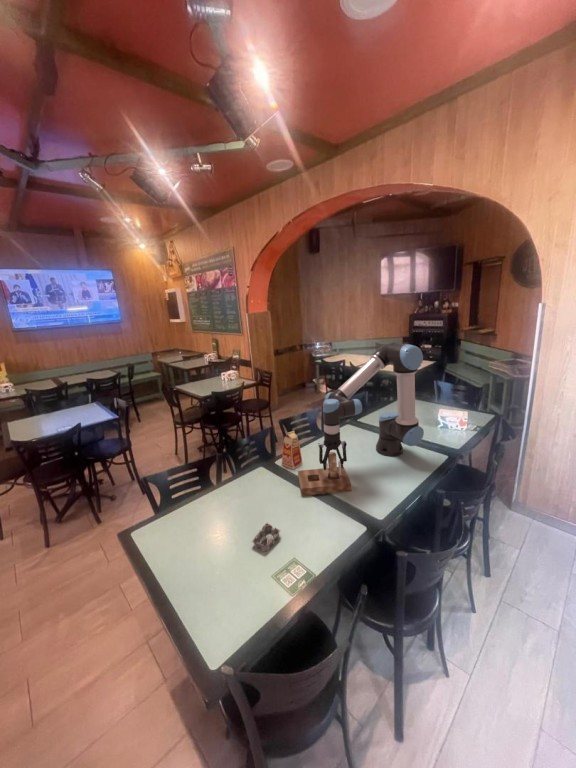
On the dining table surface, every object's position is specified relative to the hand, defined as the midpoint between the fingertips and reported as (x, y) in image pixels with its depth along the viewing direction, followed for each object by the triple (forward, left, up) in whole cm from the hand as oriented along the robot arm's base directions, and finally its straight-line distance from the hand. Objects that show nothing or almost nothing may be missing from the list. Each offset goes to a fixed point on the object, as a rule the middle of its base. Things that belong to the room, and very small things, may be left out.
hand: (333, 474), depth 154 cm
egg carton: (+33, +34, -5) cm, 48 cm away
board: (+5, 0, -5) cm, 7 cm away
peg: (0, 0, -5) cm, 5 cm away
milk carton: (+19, -23, -5) cm, 30 cm away
